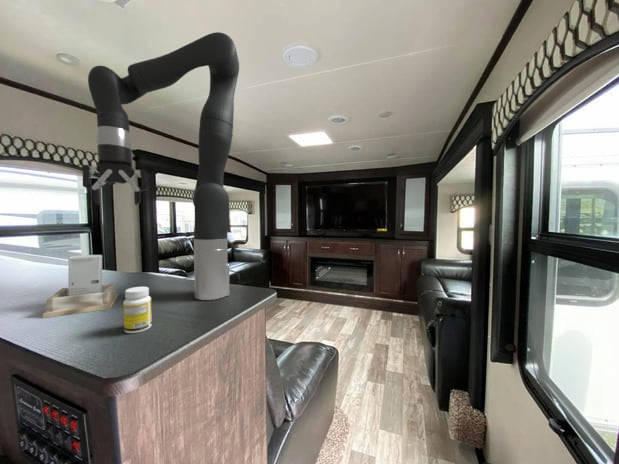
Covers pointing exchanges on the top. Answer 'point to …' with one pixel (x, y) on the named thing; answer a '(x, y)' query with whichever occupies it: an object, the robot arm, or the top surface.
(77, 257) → the skincare box
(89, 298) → the wooden tray
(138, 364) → the top surface
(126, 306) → the supplement bottle
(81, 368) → the top surface
